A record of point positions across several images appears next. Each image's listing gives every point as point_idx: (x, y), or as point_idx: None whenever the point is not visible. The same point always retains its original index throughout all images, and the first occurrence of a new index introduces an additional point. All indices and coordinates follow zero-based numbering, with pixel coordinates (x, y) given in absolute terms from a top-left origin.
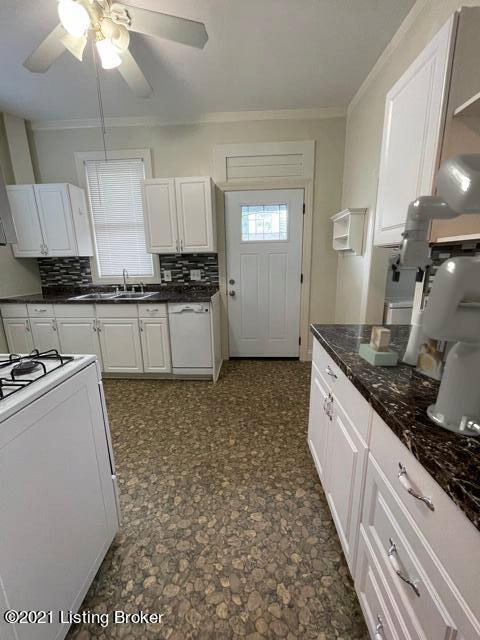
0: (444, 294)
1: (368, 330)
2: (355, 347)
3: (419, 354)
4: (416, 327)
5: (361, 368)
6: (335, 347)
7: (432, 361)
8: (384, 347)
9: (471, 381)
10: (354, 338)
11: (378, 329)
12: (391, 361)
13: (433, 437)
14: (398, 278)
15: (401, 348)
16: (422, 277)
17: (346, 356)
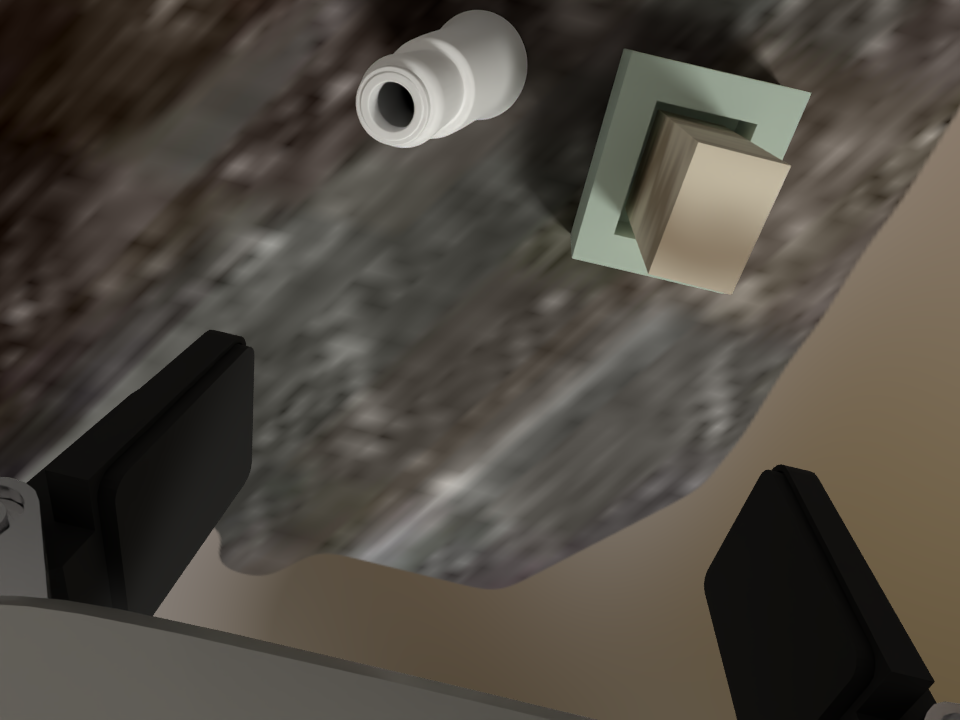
0: None
1: (306, 553)
2: (616, 367)
3: None
4: (476, 65)
5: (901, 69)
6: (739, 399)
7: None
8: (700, 128)
9: None
10: (496, 480)
11: (769, 211)
12: (666, 58)
13: None
14: (828, 515)
15: (339, 278)
16: (169, 385)
17: (806, 265)
